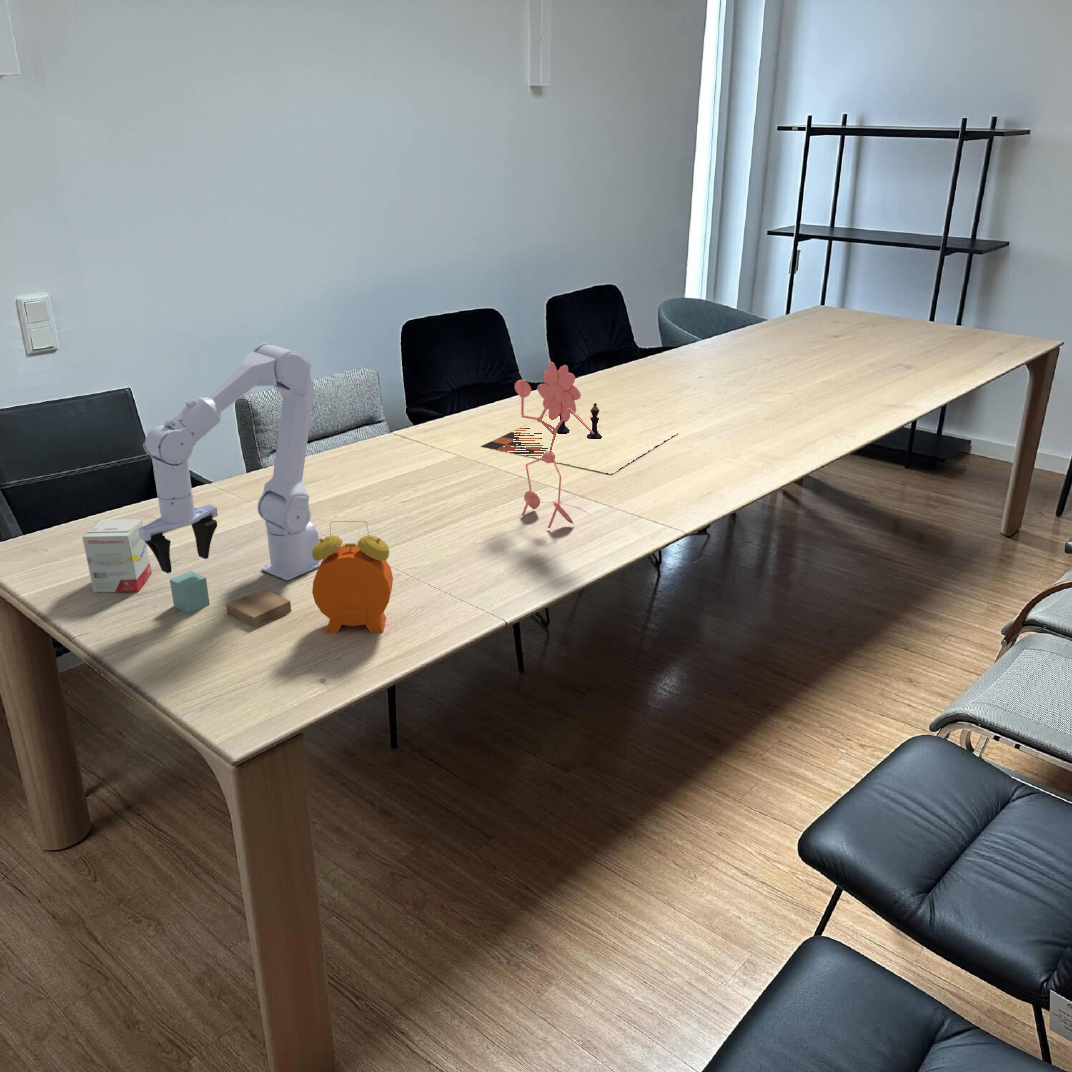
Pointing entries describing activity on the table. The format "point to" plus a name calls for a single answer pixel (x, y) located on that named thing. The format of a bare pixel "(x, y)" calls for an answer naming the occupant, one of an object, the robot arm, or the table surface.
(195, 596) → the teal block
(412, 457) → the table surface
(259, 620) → the walnut slab
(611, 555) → the table surface
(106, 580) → the ink box
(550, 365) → the figurine
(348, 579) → the alarm clock
